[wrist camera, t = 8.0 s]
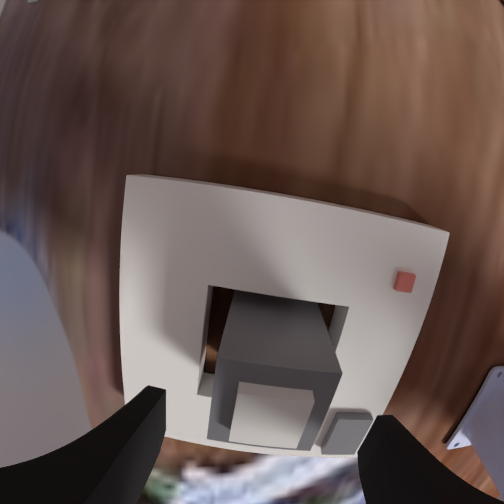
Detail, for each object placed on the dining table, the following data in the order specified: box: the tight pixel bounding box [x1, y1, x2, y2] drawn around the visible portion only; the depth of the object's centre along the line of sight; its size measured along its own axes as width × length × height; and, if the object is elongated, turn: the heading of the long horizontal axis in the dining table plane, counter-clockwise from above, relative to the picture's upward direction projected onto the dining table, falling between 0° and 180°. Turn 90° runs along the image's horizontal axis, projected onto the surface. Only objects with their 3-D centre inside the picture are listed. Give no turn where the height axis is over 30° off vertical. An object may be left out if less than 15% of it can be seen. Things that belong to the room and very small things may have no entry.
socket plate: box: [119, 174, 450, 457], centre depth 14 cm, size 14×14×3 cm
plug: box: [207, 290, 343, 451], centre depth 12 cm, size 4×4×7 cm
